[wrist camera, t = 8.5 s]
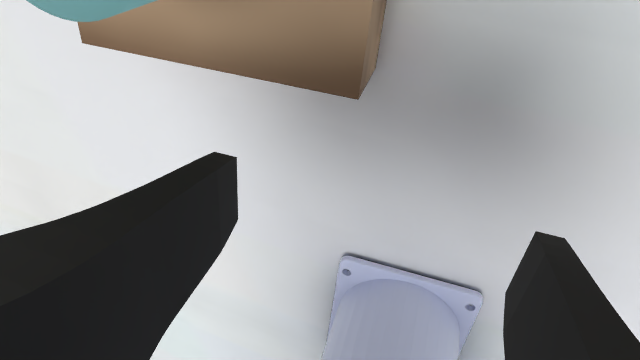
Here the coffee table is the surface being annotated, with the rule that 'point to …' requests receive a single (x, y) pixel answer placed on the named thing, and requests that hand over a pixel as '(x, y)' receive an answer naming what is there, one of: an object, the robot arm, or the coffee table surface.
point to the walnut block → (255, 38)
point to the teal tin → (87, 8)
